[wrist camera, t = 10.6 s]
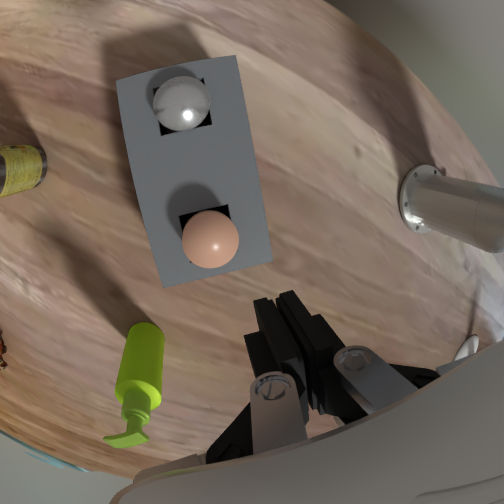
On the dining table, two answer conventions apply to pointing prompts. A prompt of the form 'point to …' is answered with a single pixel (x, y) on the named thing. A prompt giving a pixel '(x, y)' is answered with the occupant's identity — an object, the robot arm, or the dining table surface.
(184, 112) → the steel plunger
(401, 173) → the dining table surface
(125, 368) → the soap dispenser
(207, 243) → the terracotta plunger
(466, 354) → the candlestick
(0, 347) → the dragon fruit
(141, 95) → the button box
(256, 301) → the robot arm
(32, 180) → the sauce bottle
